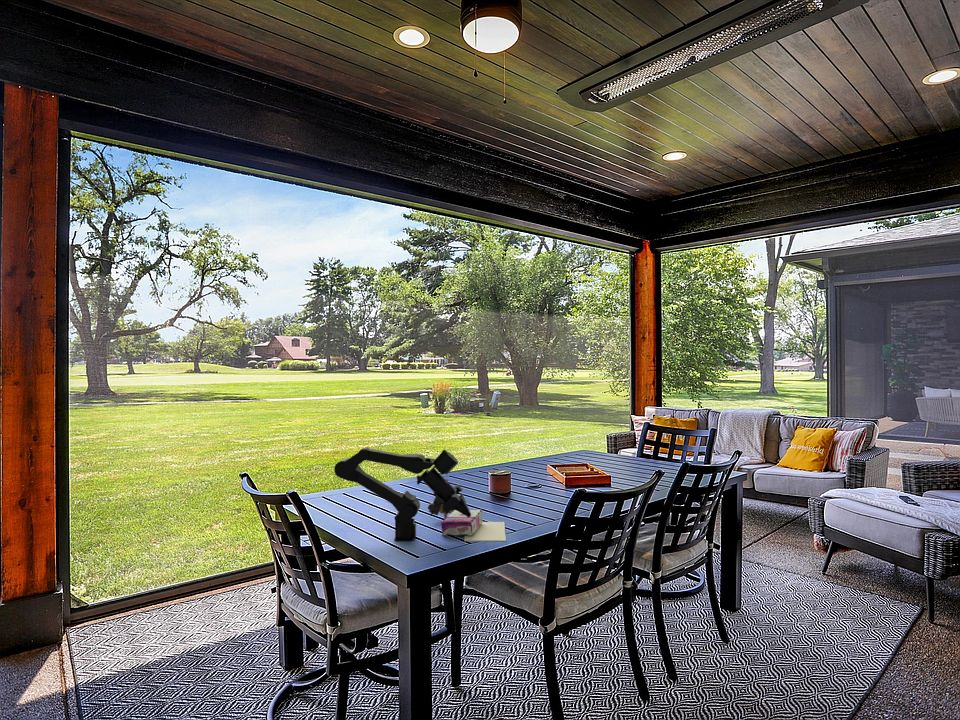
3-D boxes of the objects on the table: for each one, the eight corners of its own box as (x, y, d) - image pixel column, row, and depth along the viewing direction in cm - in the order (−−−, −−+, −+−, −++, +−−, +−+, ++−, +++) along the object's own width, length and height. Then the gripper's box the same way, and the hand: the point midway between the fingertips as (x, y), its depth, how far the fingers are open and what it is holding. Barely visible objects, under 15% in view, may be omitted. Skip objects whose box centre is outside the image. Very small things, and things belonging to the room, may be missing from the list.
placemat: (464, 541, 192) (464, 540, 192) (467, 522, 214) (467, 521, 214) (505, 541, 192) (505, 540, 192) (504, 522, 214) (504, 521, 214)
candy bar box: (472, 536, 196) (483, 522, 211) (471, 522, 195) (482, 509, 211) (441, 536, 198) (454, 522, 214) (440, 522, 198) (453, 509, 214)
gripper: (424, 494, 204) (455, 525, 204) (417, 507, 186) (451, 541, 186) (446, 472, 204) (477, 503, 204) (441, 483, 186) (475, 517, 185)
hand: (470, 516), depth 195 cm, fingers closed
